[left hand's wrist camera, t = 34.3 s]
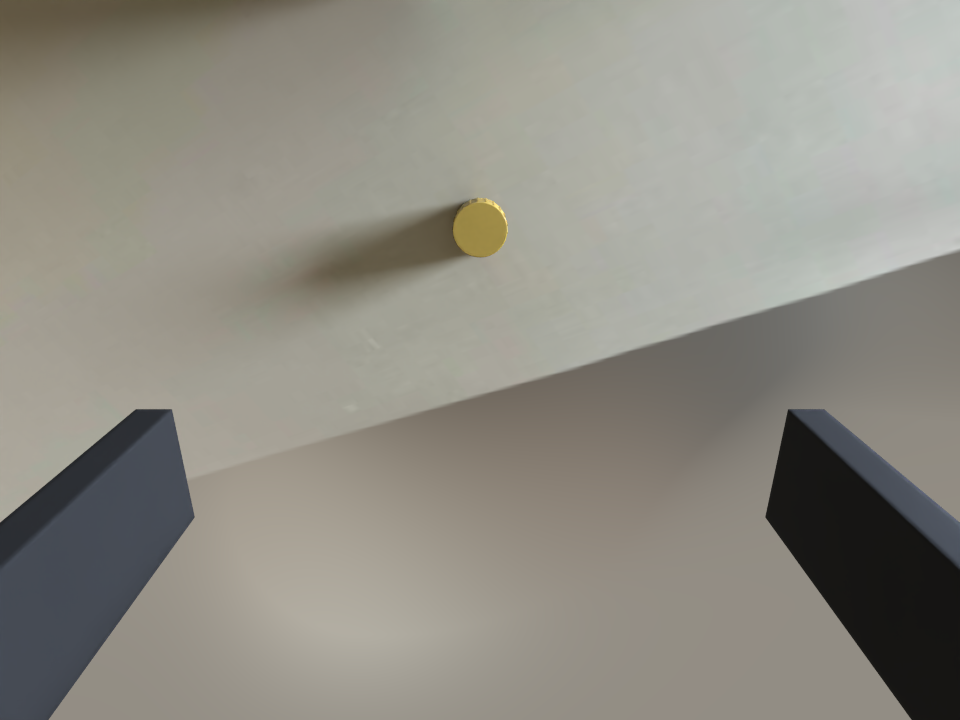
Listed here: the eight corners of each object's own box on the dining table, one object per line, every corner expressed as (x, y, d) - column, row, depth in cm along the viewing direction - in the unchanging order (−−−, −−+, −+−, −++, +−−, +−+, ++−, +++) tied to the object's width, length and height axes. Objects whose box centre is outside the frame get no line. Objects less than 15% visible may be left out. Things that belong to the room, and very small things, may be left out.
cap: (516, 234, 44) (518, 240, 42) (470, 261, 45) (470, 268, 42) (489, 187, 43) (490, 190, 40) (443, 215, 43) (441, 220, 41)
